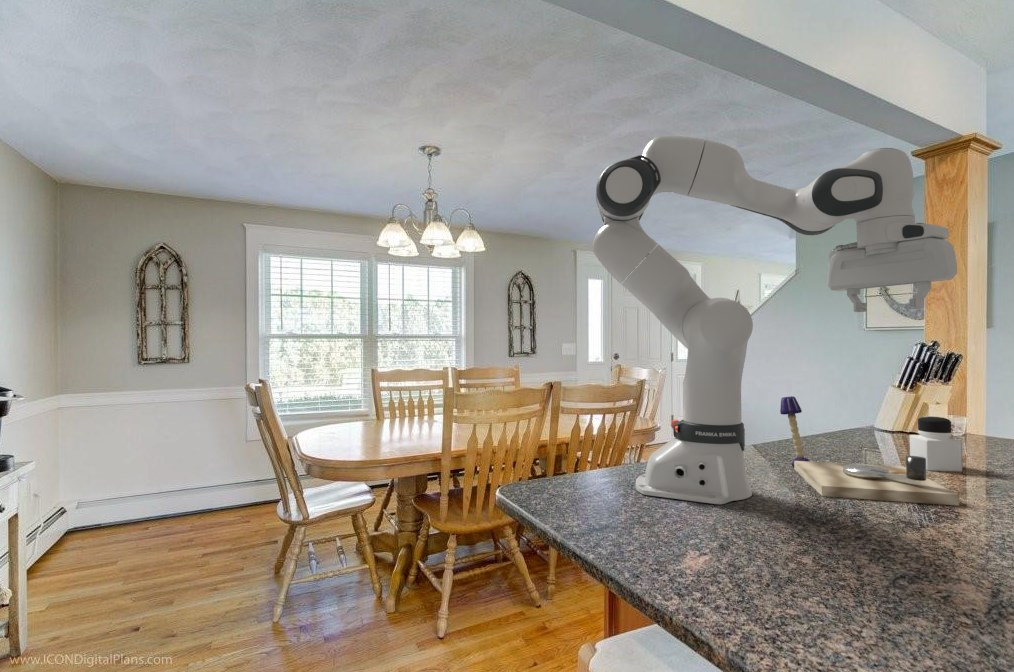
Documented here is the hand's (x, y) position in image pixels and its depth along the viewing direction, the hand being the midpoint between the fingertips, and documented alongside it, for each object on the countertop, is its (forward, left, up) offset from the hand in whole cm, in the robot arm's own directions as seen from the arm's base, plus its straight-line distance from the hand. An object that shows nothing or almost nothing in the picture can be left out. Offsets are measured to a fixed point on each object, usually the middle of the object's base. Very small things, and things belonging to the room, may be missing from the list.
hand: (887, 310), depth 94 cm
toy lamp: (-9, +27, -36) cm, 46 cm away
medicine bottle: (+21, +34, -36) cm, 54 cm away
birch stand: (0, +13, -36) cm, 38 cm away
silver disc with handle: (+2, +10, -34) cm, 35 cm away
